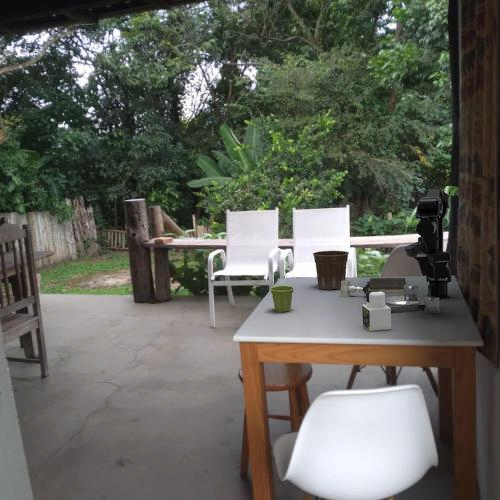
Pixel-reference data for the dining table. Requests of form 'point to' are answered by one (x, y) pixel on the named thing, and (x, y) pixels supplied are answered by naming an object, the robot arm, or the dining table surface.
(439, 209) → the robot arm
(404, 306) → the dial scale
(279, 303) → the plant pot
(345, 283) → the valve
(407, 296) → the cylinder
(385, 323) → the medicine bottle
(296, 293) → the dining table surface
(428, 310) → the steel spacer
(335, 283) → the plant pot
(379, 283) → the hardcover book
